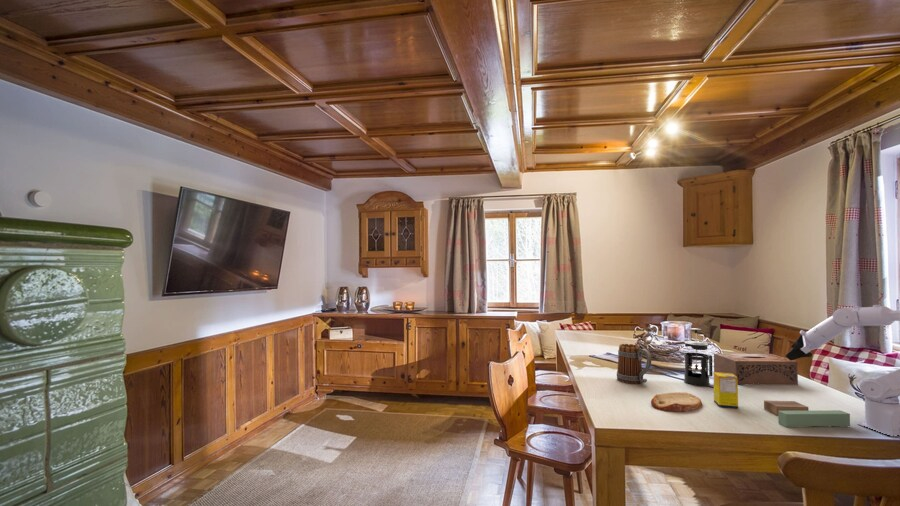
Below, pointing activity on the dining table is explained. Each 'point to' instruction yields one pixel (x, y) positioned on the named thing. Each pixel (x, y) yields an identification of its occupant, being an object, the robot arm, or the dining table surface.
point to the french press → (691, 377)
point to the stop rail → (813, 418)
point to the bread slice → (676, 402)
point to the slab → (783, 406)
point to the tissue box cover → (758, 368)
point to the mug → (632, 364)
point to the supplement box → (725, 390)
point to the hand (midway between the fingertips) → (790, 353)
